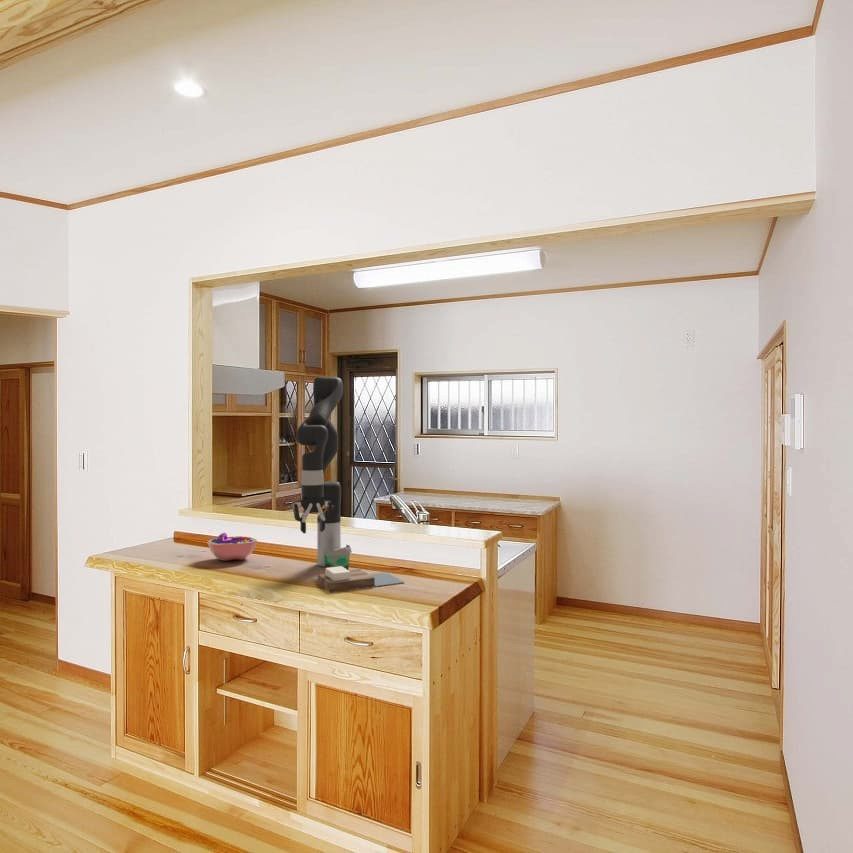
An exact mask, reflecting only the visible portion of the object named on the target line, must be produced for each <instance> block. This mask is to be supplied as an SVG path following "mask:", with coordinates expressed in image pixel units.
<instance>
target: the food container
mask: <svg viewBox="0 0 853 853" xmlns="http://www.w3.org/2000/svg"><path fill="white" fill-rule="evenodd" d="M351 553H352V547H351V546H350V544H346V546H345V547H341V548H335V549H333V550H325V549H324V551H323V555H324V559H325V567H324V569H325V572H326V568H330V567H338V566H342V567H344V568H345V569H347V570H349V567H350V558H351V557H350V556H351Z"/></svg>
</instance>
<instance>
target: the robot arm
mask: <svg viewBox="0 0 853 853" xmlns="http://www.w3.org/2000/svg"><path fill="white" fill-rule="evenodd" d="M313 380H314V381H313V383H312V386H313V387H312V391H313V393H312V394H313V395H312V396H313V407H312V408H311V410H310V413H309V415H308V418H306V419H305V420H304V421H303V422H301V424H300V425H299V426H298V428H297V431H296V436H295V437H296V440H297V442H298V444H299V445H301V446H313V448H314V450H312V451H309V452H305V453H303V454H302V458H301V462H302V464H301V465H302V466H301V468H302V469H301V482H300V483H301V500H300V501H299V502H293V503H292V505H291V506H292V510H293V517H294V519H295V521H298V522H300V531H301V532H302V533H303V534H307V522H306V521H307V518H308V516H309V514H312V513H315V514H317V518H316V521H317V523H316V524H317V526H316V527H317V533H316V534H317V536H316V538H317V542H316V543H317V545H316V546H317V547H316V548H317V549H316V550H317V557H316V558H317V560H316V561H317V566H318V567H322V568H325V559H324V555H323V551H324V549H325V550H333V549H335V548H342V547H341V546H342V544H341V542H342V539H341V538H342V537H341V536H342V535H341V534H342V533H341V531H342V530H341V528H342V526H341V524H342V523H341V521H342V520H341V507H342V506H341V502H342V486H341V483H340V482H339V481H334V480H333V481H325V479H324V478H325V477H324V475H325V473H326V470H327V469H328V468H329V465H330V464H331V462H332V461H333V460H334V458H335V456H336V455H337V453H338V449H339V433H338V431H337V428H336V427H335V425H334V424H333V422H332V421H331V419H330V417H331V415H332V413H333V412H334V410H335V409H336V407H337V405H338V404H339V403H340V402H341V400H342V397H343V393H344V384H343V380H342V379H341V378H339V377H337V376H316V377H315V378H314V379H313ZM324 506H325V511H323V507H324ZM301 507H302V509H303V510H302V512H301V514H300V511H299V510H300V508H301ZM300 515H301V516H300Z"/></svg>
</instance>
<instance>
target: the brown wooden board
mask: <svg viewBox="0 0 853 853" xmlns="http://www.w3.org/2000/svg"><path fill="white" fill-rule="evenodd" d="M349 571H350V579H345V580H337V581H333V580H332V579H330V578H329V577H328V576H326V572H324V573H323V572H322V573H318V574H317V584H319V585H321V586H322V587H323V588H324V589H326V590H327V591H328V592H330V593H334V592H342V591H347V590H348V591H350V589H351V590H357V589H356V588H358V589H364V587H366V588H372V586H373V587H375V578H374V577H372V576H371V575H369V574H370V573H367V572H366V571H364V570H362V569H361V568H358V569H350V570H349Z"/></svg>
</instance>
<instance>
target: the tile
mask: <svg viewBox="0 0 853 853" xmlns="http://www.w3.org/2000/svg"><path fill="white" fill-rule="evenodd" d="M325 573H326V576H328V577H329V578H330V579H332V580H333V581H337V580H345V579H350V571H349V570H347V569H345V568H344V567H342V566H338V567H330V568H326V571H325Z"/></svg>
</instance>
